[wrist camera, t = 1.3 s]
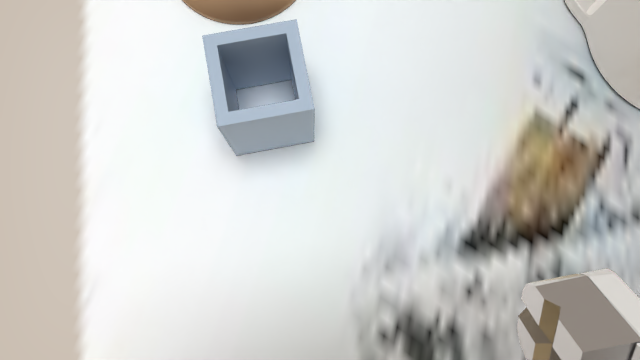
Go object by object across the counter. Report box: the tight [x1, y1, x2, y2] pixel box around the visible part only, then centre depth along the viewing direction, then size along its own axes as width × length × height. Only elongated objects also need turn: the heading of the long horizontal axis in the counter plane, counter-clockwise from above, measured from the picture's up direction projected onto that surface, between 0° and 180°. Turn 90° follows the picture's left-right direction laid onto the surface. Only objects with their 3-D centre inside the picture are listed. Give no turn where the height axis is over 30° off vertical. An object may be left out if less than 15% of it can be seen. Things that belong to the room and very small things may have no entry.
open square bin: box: [202, 19, 314, 156], centre depth 36 cm, size 9×6×8 cm, turn 11°
